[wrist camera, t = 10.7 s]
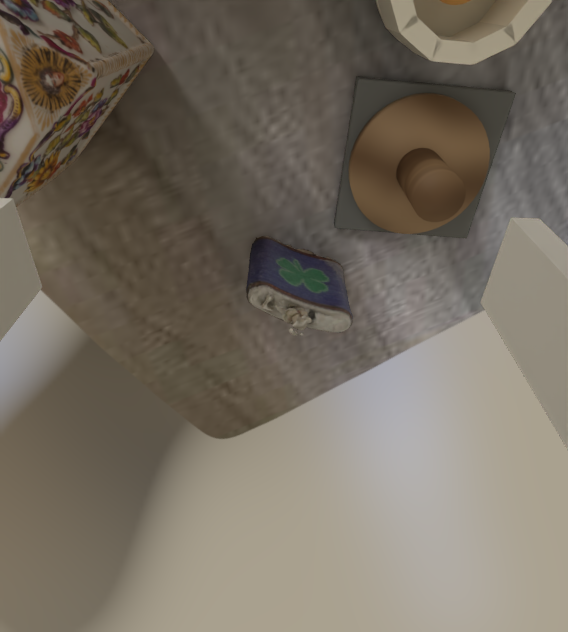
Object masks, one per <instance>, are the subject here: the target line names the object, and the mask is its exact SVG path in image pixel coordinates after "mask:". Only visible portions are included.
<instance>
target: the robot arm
mask: <svg viewBox="0 0 568 632" xmlns="http://www.w3.org/2000/svg"><path fill="white" fill-rule="evenodd" d="M41 288H42V285H41V282H40V279H39V276H38V273H37V270H36V267H35V263H34V260H33V257H32V254H31V251H30V248H29V245H28V242H27V239H26V236H25V233H24V230H23V227H22V224H21V221H20V218H19V215H18V212H17V209H16V206H15V203H14V200H13V198H0V341H1V340H2V338H3V337H4V336H5V334H6V333H7V332H8V331H9V329H10V328H11V327H12V325H13V324H14V323H15V322H16V320H17V319H18V318H19V316H20V315H21V314H22V313H23V311H24V310H25V309H26V307H27V306H28V305H29V304H30V302H31V301H32V300H33V298H34V297H35V296H36V295H37V293H38V292H39V291H40V289H41ZM481 304H482V306H483V307H484V309H485V311H486V312H487V314H488V316H489V317H490V319H491V321H492V322H493V324H494V326H495V327H496V329H497V331H498V333H499V334H500V336H501V338H502V339H503V341H504V343H505V344H506V346H507V348H508V349H509V351H510V353H511V355H512V356H513V358H514V360H515V361H516V363H517V365H518V366H519V368H520V370H521V372H522V373H523V375H524V377H525V378H526V380H527V382H528V383H529V385H530V387H531V388H532V390H533V392H534V394H535V395H536V397H537V399H538V400H539V402H540V404H541V405H542V407H543V409H544V411H545V412H546V414H547V416H548V417H549V419H550V421H551V422H552V424H553V426H554V427H555V429H556V431H557V432H558V434H559V436H560V438H561V439H562V441H563V443H564V444H565V446H566V448H567V449H568V246H567V245H566V244H565V243H564V242H563V241H562V240H561V239H560V238H559V237H558V236H557V235H556V234H555V233H554V232H553V231H552V230H551V229H550V228H549V227H547V226H546V225H545V224H544V223H543V222H542V221H541V220H540V219H534V218H511V219H510V222H509V225H508V227H507V230H506V233H505V236H504V239H503V241H502V244H501V247H500V250H499V252H498V255H497V258H496V261H495V263H494V266H493V269H492V272H491V275H490V277H489V280H488V283H487V286H486V288H485V291H484V294H483V297H482V300H481Z"/></svg>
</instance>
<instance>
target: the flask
mask: <svg viewBox="0 0 568 632" xmlns="http://www.w3.org/2000/svg"><path fill="white" fill-rule="evenodd" d="M246 291H247V299H248V301H249V303H251V304H252V305H253V306H254V307H256V308H258V309H260V310H262V311H264V312H266V313H268V314H270V315H272V316H274V317H276V318H278V319H281V320H283V321H286V322H287V323H289V324H292V326H293V327H294V328H297V330H304V329H305V328H306V327H307V328H310V329H316V330H322V331H326V332H335V333H341V332H344V331H346V330H347V329H348V328H349V327H350V326H351V325H352V320H353V316H352V313H351V310H350V307H349V302H348V296H347V290H346V286H345V280H344V272H343V269H342V266H341V265H340V264H339V263H337V262H336V261H335V260H332V259H331V258H328V257H326V258H324V257H321V256H317V255H316V254H314V253H313V252H310V251H309V250H305V249H294V248H292V246H291V245H284V244H282V243H281V242H280V241H278V240H275V239H273V238H270V237H268V236H262V237H259V238H256V240H255V241H254V243H253V244H252V248H251V253H250V263H249V272H248V280H247V288H246ZM289 332H290V333H291V334H292V335H294V336H296V335H298V332H297V331H294V330H293V329H292V328H291V329H289ZM300 335H301V336H303V333H300Z"/></svg>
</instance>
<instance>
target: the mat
mask: <svg viewBox="0 0 568 632" xmlns="http://www.w3.org/2000/svg"><path fill="white" fill-rule="evenodd" d="M420 93H435V94H441V95H445V96H448V97H451V98H453V99H455V100H457V101H459V102H460V103H462V104H464V105H465V106H466V107H468V108H469V109H470V110H471V111H472V112H473V113H474V114H475V115H476V116H477V117H478V118H479V120H480V121H481V123H482V124H483V127H484V129H485V131H486V134H487V137H488V141H489V148H490V159H489V166H488V170H487V174H486V177H485V180H484V182H483V185H482V187H481V189H480V190H479V192H478V194H477V195H476V197H475V198H474V200H473V201H472V202H471V203H470V204H469V206H468V207H467V208H466V209H465V210H464V211H463V212H462V213H461V214H459V215H458V216H457V217H455V218H454V219H453V220H451V221H450V222H448V223H446V224H445V225H442V226H440V227H438V228H436V229H433V230H430V231H426V232H422V233H414V234H418V235H431V236H443V237H456V238H467V235H468V232H469V229H470V227H471V224H472V221H473V218H474V215H475V212H476V209H477V206H478V203H479V200H480V197H481V194H482V191H483V188H484V185H485V182H486V179H487V176H488V174H489V171H490V168H491V165H492V162H493V159H494V156H495V153H496V150H497V147H498V144H499V141H500V138H501V135H502V132H503V129H504V126H505V123H506V120H507V118H508V115H509V112H510V109H511V106H512V103H513V100H514V97H515V94H516V93H514V92H512V91H506V90H495V89H484V88H473V87H462V86H451V85H441V84H430V83H419V82H408V81H397V80H386V79H375V78H364V77H356V84H355V90H354V97H353V103H352V110H351V116H350V123H349V129H348V136H347V142H346V149H345V155H344V162H343V168H342V175H341V181H340V188H339V194H338V201H337V207H336V213H335V220H334V226H335V228H340V229H353V230H366V231H379V232H391V231H388V230H385V229H383V228H381V227H379V226H377V225H375V224H374V223H373V222H371V221H370V220H369V219H368V218H367V217H366V216H365V215H364V214H363V213H362V212H361V210H360V209H359V207H358V205H357V203H356V201H355V199H354V196H353V193H352V190H351V187H350V182H349V171H348V169H349V160H350V155H351V151H352V148H353V146H354V143H355V141H356V139H357V137H358V135H359V133H360V132H361V130H362V129H363V127H364V126H365V125H366V123H367V122H368V121H369V120H370V119H371V118H372V117H373V116H374V115H375V114H376V113H377V112H378V111H380V110H381V109H382V108H384V107H385V106H386V105H388V104H390V103H392V102H394V101H395V100H398V99H400V98H403V97H405V96H409V95H413V94H420ZM392 233H395V232H392Z"/></svg>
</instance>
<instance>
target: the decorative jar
mask: <svg viewBox="0 0 568 632" xmlns="http://www.w3.org/2000/svg"><path fill="white" fill-rule="evenodd" d="M153 52H154V47H153V45H152V44H151V43H150V42H149V41H148V40H147V39H146V38H145V37H144V36H143V35H142V34H141V33H140V32H139V31H138V30H137V29H136V28H135V27H134V26H133V25H132V24H131V23H130V22H129V21H128V20H127V19H126V18H125V16H123V15H122V14H121V13H120V12H119V11H118V10H117V9H116V8H115V7H114V6H113V5H112V3H110V2H109V1H108V0H0V198H13V200H14V203H15V206H16V207H18V206H19V205H20V204H21V203H22V202H24V201H25V200H27V199H28V198H29V197H31V196H32V195H33V194H34V193H35V192H37V191H38V190H40V189H41V188H42V187H44V186H45V185H46V184H48V183H49V182H51V181H52V180H53V179H54V178H55V177H57V176H58V175H59V174H60V173H61V172H62V171H64V170H65V169H66V168H67V167H68V166H69V165H70V164H72V163H73V162H74V161H75V160H76V159H77V158H78V157H79V155H80V154H81V152H82V151H83V150H84V149H85V148H86V146H87V145H88V143H89V142H90V140H91V139H92V137H93V136H94V135H95V133H96V132H97V131H98V129H99V128H100V126H101V125H102V124H103V123H104V121H105V119H106V118H107V117H108V116H109V114H110V113H111V111H112V110H113V109H114V108H115V106H116V105H117V103H118V102H119V101H120V99H121V98H122V96H123V95H124V94H125V92H126V91H127V89H128V88H129V86H130V85H131V84H132V82H133V81H134V79H135V78H136V77H137V75H138V74H139V72H140V71H141V69H142V68H143V67H144V65H145V64H146V63H147V61H148V60H149V58H150V57H151V56H152V54H153Z"/></svg>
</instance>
